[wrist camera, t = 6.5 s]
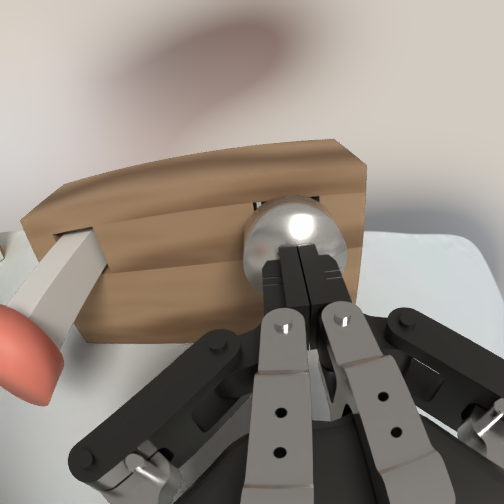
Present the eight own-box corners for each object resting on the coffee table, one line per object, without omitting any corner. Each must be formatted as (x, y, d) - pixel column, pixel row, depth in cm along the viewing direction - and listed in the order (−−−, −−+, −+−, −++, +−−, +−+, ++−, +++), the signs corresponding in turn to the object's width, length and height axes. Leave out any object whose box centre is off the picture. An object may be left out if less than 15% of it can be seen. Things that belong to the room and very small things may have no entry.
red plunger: (68, 413, 9) (2, 343, 7) (9, 396, 9) (-46, 334, 7) (137, 252, 19) (117, 193, 17) (87, 259, 19) (65, 205, 17)
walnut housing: (352, 326, 19) (366, 165, 13) (86, 342, 20) (20, 220, 14) (333, 273, 24) (334, 139, 18) (109, 294, 25) (64, 184, 19)
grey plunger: (344, 295, 13) (349, 209, 11) (250, 306, 14) (235, 221, 11) (304, 195, 23) (300, 142, 21) (249, 201, 24) (242, 148, 21)
